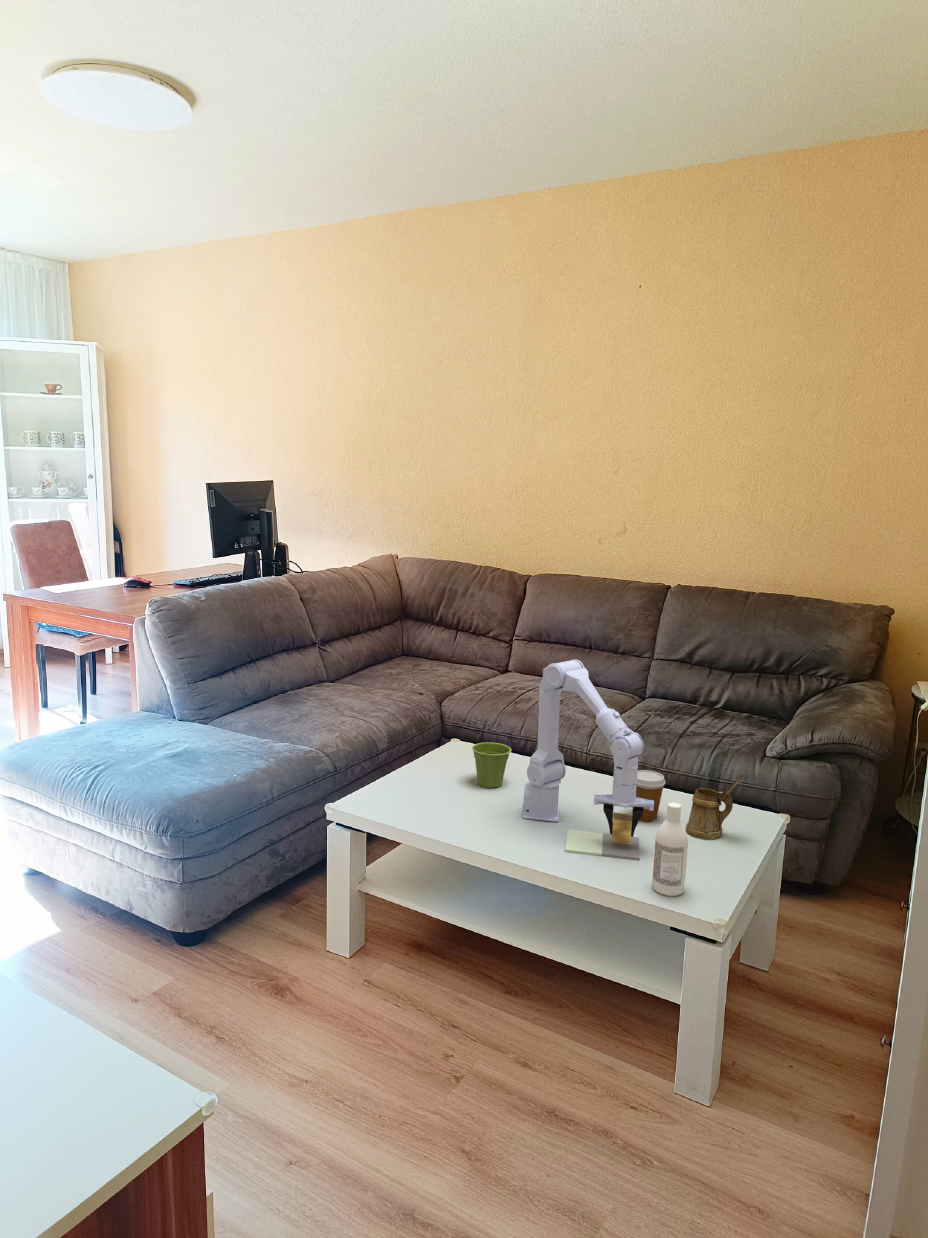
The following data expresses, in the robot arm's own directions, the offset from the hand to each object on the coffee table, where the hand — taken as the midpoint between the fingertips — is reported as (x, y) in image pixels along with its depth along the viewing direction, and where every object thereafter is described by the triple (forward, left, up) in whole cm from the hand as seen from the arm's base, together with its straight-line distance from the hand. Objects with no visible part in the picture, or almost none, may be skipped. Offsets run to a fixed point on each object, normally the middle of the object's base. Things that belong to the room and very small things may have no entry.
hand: (621, 834), depth 200 cm
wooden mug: (+24, +14, -4) cm, 28 cm away
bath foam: (+11, -19, -4) cm, 22 cm away
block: (0, 0, -2) cm, 2 cm away
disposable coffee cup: (+7, +21, -4) cm, 22 cm away
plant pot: (-38, +34, -4) cm, 52 cm away
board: (-4, 0, -4) cm, 6 cm away
